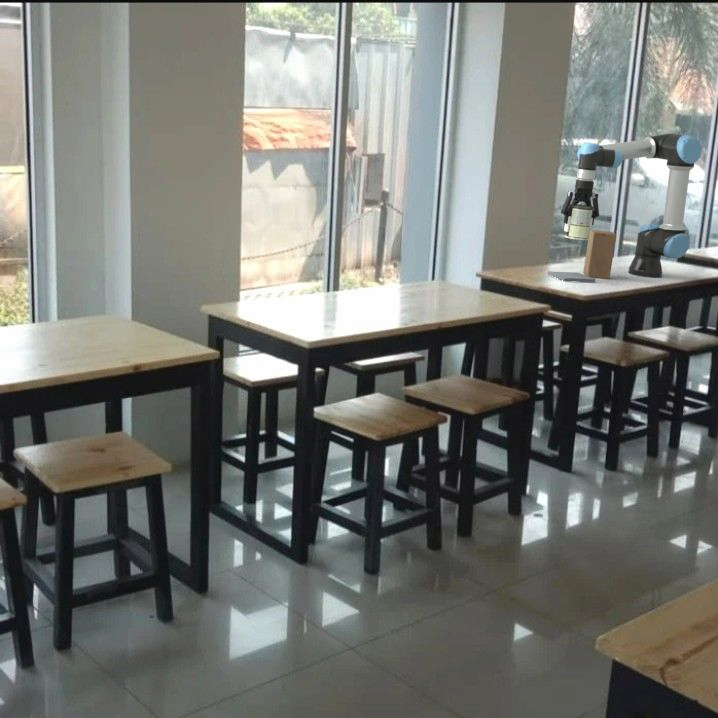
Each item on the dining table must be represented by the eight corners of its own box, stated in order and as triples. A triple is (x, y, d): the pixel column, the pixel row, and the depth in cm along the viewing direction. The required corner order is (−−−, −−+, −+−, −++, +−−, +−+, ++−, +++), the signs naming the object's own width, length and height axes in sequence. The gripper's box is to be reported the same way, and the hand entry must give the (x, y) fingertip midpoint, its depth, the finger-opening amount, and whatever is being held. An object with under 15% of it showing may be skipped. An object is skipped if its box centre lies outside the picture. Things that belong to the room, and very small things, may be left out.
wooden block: (609, 279, 460) (616, 234, 455) (587, 277, 460) (593, 232, 455) (604, 275, 470) (611, 231, 465) (582, 273, 470) (589, 229, 465)
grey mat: (577, 275, 461) (577, 272, 461) (594, 282, 447) (595, 279, 447) (547, 274, 456) (547, 271, 456) (564, 281, 442) (564, 278, 442)
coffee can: (559, 236, 448) (564, 203, 445) (575, 236, 454) (580, 204, 451) (576, 240, 440) (581, 207, 437) (593, 240, 446) (598, 207, 443)
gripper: (603, 180, 448) (595, 231, 454) (557, 177, 441) (549, 229, 446) (613, 182, 441) (604, 234, 447) (566, 178, 434) (558, 231, 439)
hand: (577, 231), depth 447 cm, fingers closed on coffee can, 10 cm apart
